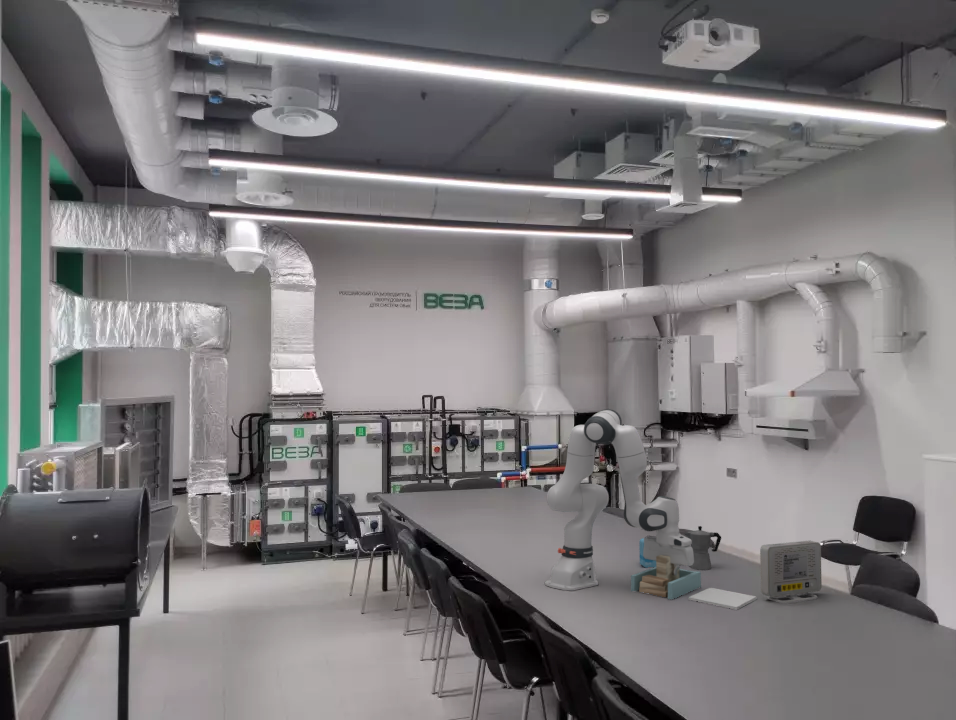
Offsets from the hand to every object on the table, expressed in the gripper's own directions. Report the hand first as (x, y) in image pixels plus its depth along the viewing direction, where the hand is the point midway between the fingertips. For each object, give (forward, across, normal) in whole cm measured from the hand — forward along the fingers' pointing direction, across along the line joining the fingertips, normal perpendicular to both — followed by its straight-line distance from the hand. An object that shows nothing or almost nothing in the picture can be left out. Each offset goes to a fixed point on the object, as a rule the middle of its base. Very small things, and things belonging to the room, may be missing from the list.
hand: (668, 574), depth 280 cm
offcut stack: (+6, 0, -10) cm, 11 cm away
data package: (+6, -22, +29) cm, 37 cm away
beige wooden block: (+6, 0, 0) cm, 6 cm away
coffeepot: (+6, -5, +41) cm, 42 cm away
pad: (+6, +22, 0) cm, 23 cm away
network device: (+6, +40, +20) cm, 45 cm away
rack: (+6, 0, -1) cm, 6 cm away
